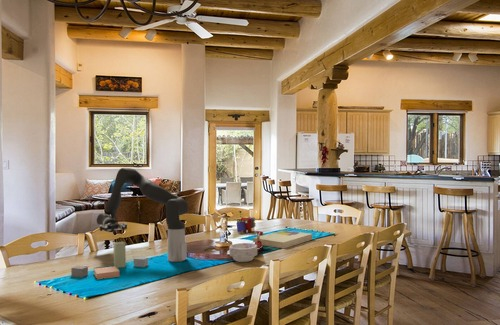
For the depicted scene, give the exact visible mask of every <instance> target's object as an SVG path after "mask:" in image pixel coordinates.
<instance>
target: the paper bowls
mask: <svg viewBox="0 0 500 325" xmlns="http://www.w3.org/2000/svg"><path fill="white" fill-rule="evenodd" d="M228 248H229V252H228V253H229V256H230V257H232V259H233V260H234V261H236V262H237V263H238V262H239V263H247V262H252V261H253V260H254V258H255V256H257V255H258V250H257V245H255V244H253V243H249V242H241V243H233V244H230V245H229V247H228Z"/></svg>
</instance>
